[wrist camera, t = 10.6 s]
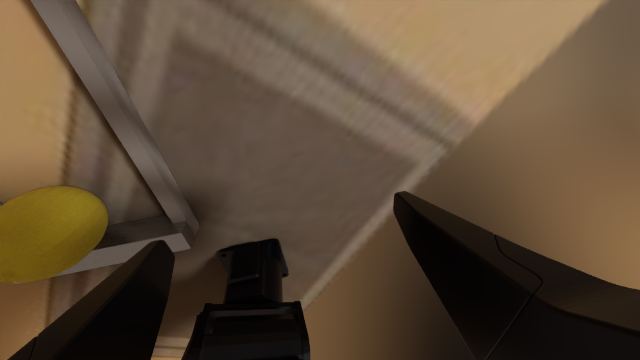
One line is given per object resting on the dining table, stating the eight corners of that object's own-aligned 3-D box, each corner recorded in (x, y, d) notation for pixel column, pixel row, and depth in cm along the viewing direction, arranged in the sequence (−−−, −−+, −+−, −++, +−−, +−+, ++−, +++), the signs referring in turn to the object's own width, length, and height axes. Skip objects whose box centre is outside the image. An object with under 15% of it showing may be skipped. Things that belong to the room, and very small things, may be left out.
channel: (199, 225, 23) (191, 248, 21) (44, 256, 22) (15, 284, 20) (-3, -142, 11) (-88, -195, 8) (-396, -116, 9) (-637, -167, 7)
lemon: (57, 218, 20) (-47, 310, 14) (33, 162, 18) (-109, 243, 11) (132, 222, 22) (71, 306, 15) (121, 171, 19) (41, 246, 12)
